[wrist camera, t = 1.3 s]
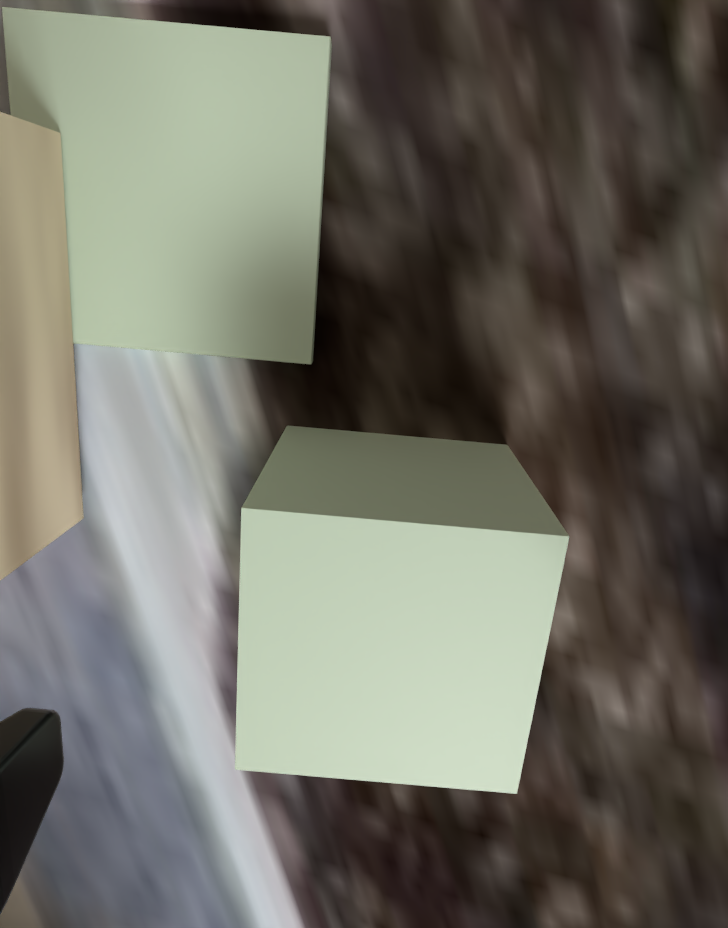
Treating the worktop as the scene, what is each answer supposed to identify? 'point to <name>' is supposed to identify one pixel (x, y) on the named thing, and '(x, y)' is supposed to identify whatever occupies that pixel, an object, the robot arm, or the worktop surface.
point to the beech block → (35, 348)
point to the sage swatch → (182, 177)
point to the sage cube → (393, 610)
